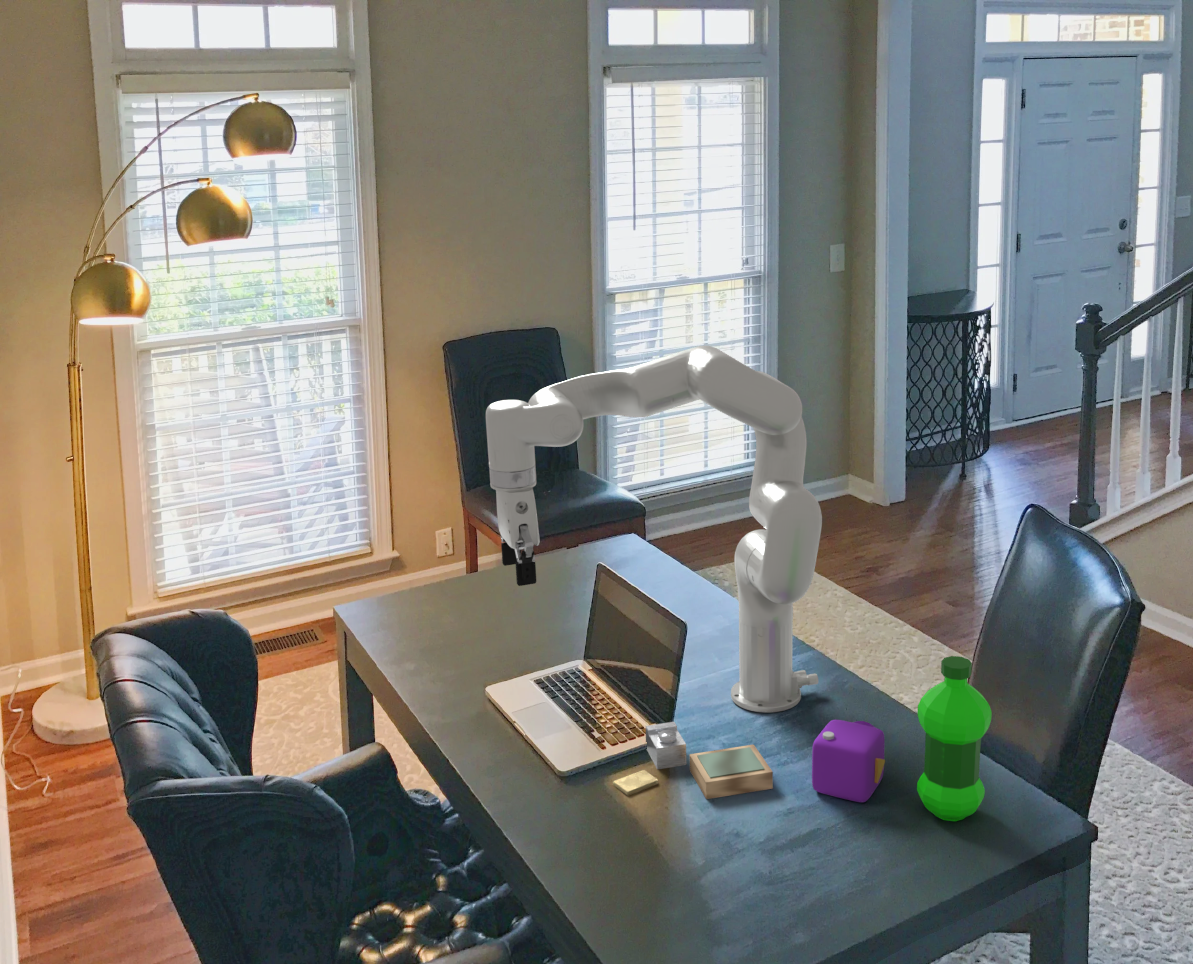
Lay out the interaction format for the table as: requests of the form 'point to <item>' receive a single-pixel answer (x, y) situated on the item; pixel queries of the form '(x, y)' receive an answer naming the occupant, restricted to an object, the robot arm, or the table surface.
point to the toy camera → (848, 760)
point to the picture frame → (730, 771)
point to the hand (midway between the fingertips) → (519, 573)
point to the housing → (665, 745)
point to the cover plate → (635, 782)
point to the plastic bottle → (953, 742)
